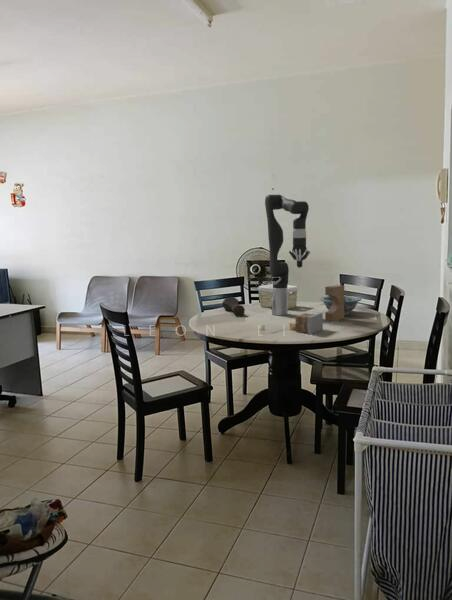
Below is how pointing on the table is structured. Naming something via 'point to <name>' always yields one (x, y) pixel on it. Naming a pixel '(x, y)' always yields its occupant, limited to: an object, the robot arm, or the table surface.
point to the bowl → (349, 303)
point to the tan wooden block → (293, 326)
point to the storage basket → (267, 295)
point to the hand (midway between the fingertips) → (299, 267)
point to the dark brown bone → (233, 306)
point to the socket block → (302, 322)
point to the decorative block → (335, 303)
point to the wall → (314, 323)
